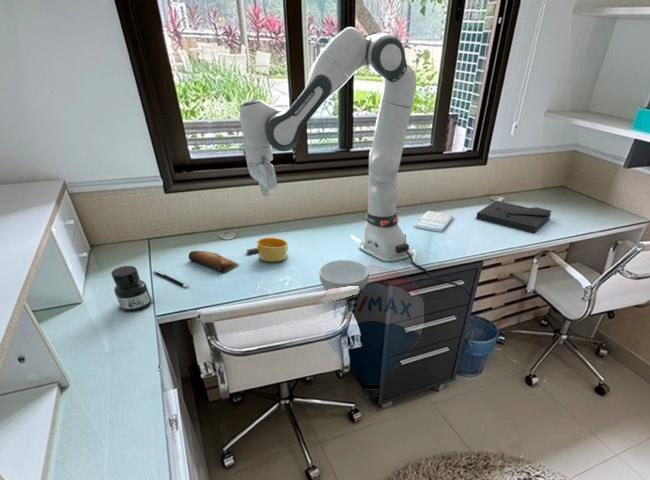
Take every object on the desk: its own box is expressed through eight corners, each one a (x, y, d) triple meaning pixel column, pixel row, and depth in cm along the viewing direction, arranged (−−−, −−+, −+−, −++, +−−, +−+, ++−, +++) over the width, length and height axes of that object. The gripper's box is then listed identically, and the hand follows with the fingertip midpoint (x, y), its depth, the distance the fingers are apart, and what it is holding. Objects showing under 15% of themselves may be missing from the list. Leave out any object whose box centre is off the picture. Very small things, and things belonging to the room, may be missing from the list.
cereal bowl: (350, 307, 131) (350, 288, 126) (310, 292, 138) (308, 274, 133) (377, 285, 142) (378, 267, 138) (339, 273, 149) (338, 255, 145)
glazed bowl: (274, 236, 161) (274, 249, 164) (251, 240, 154) (251, 254, 156) (293, 244, 156) (292, 258, 159) (270, 249, 148) (270, 264, 151)
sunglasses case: (239, 263, 152) (229, 252, 146) (229, 278, 150) (218, 268, 144) (206, 252, 160) (195, 241, 154) (196, 266, 157) (185, 256, 152)
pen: (155, 272, 147) (154, 269, 146) (188, 287, 139) (187, 284, 138) (153, 272, 146) (152, 270, 146) (186, 288, 138) (185, 285, 137)
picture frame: (549, 218, 199) (494, 206, 212) (551, 210, 197) (496, 198, 210) (534, 233, 184) (476, 218, 197) (536, 224, 181) (477, 210, 194)
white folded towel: (453, 218, 197) (453, 214, 196) (441, 232, 182) (441, 228, 181) (427, 213, 201) (427, 209, 200) (413, 227, 186) (413, 223, 185)
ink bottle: (118, 314, 124) (104, 280, 117) (120, 300, 131) (106, 267, 124) (153, 308, 128) (141, 274, 120) (153, 294, 134) (141, 262, 127)
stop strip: (282, 247, 166) (281, 244, 165) (248, 254, 160) (247, 251, 159) (280, 246, 167) (280, 242, 166) (247, 253, 161) (246, 249, 160)
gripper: (278, 160, 132) (284, 202, 140) (258, 147, 146) (264, 186, 155) (260, 162, 130) (266, 205, 138) (241, 149, 144) (248, 189, 152)
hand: (265, 195), depth 146 cm, fingers closed
